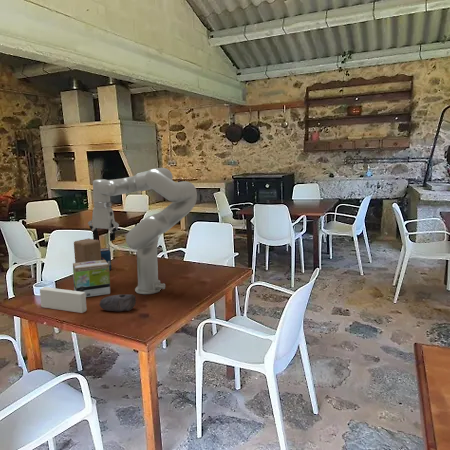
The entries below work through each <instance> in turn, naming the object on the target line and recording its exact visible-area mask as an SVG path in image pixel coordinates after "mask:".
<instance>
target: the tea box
mask: <svg viewBox="0 0 450 450" xmlns="http://www.w3.org/2000/svg"><path fill="white" fill-rule="evenodd" d="M72 275H73V277H72V278H73V291H80V292H85V294H86V298H89V297H90V298H91V297H96V296H104V295H110V294H111V279H110V276H111V275H110V270H109V264H108V263H107V262H106V260H97V261H89V262H80V263H75V262H73V263H72Z"/></svg>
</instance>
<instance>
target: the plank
mask: <svg viewBox="0 0 450 450" xmlns="http://www.w3.org/2000/svg"><path fill="white" fill-rule="evenodd" d="M39 295H40V298H39V299H40V306H41V308H46V309H53V310H60V311H66V312H72V313H73V312H74V313H80V314H83V313H85V312H86V311H87V310H88V309H87V297H86V294H85V292H80V291H74V290H71V289H63V288H62V289H61V288H56V287H47V286H44V287H41V288H40V289H39Z"/></svg>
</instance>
